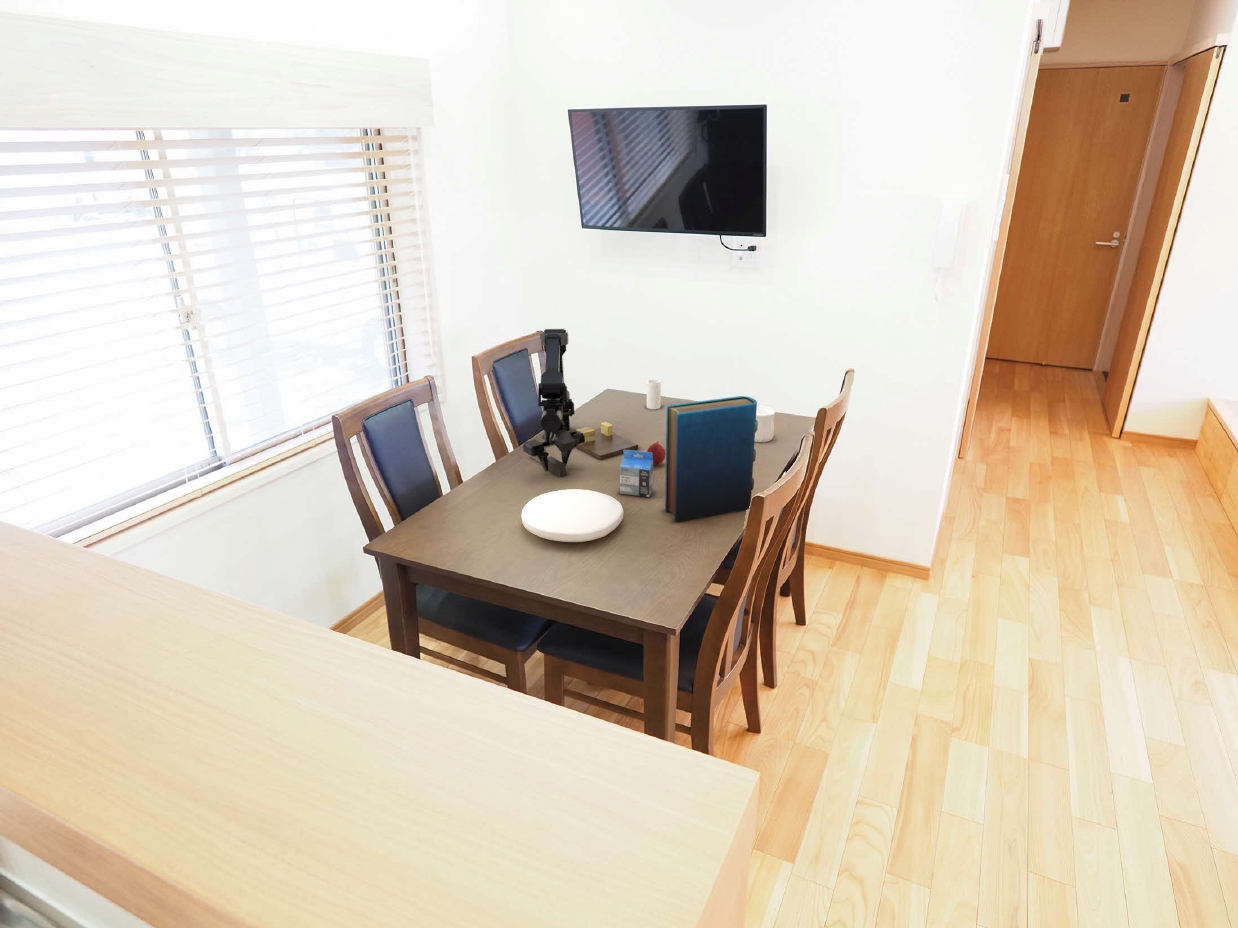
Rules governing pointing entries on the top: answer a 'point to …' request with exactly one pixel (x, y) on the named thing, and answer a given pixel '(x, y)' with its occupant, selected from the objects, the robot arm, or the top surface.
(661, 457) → the onion
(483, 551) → the top surface
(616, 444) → the cutting board
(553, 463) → the butter knife
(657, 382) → the cup
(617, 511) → the white round disc
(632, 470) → the label tape box
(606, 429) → the butter slice
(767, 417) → the cup
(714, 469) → the book
